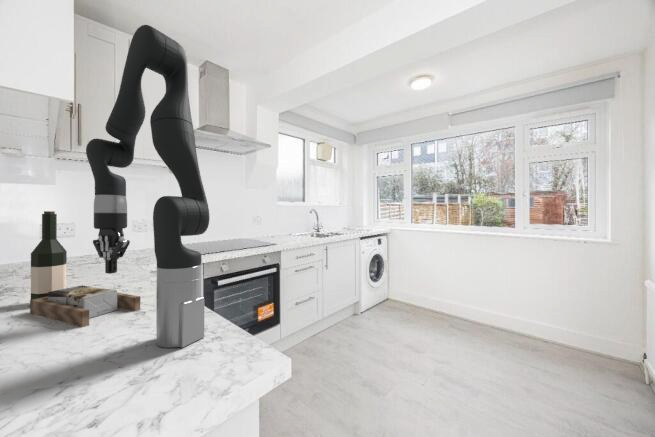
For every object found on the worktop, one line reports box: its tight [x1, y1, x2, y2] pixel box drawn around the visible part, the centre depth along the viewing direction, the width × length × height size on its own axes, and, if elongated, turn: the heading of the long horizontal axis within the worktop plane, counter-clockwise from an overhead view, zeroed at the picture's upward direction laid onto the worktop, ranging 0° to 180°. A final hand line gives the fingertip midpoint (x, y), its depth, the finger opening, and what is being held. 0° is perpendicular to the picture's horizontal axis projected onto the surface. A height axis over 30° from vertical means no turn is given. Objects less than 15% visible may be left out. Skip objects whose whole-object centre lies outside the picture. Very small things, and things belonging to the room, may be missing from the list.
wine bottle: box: [30, 210, 68, 300], centre depth 91 cm, size 8×8×30 cm
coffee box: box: [48, 285, 118, 319], centre depth 83 cm, size 9×6×16 cm
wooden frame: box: [29, 292, 141, 328], centre depth 84 cm, size 26×15×4 cm, turn 68°
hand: (111, 272), depth 79 cm, fingers closed
